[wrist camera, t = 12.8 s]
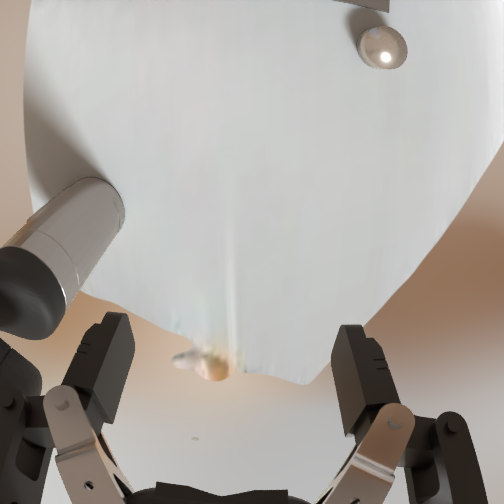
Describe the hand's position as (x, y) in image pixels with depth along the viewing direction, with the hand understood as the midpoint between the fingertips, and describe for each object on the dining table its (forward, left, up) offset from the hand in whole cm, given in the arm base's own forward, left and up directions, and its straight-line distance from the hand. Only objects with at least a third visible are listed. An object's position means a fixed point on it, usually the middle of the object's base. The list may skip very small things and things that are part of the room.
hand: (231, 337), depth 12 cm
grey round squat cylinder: (+14, +14, -28) cm, 34 cm away
